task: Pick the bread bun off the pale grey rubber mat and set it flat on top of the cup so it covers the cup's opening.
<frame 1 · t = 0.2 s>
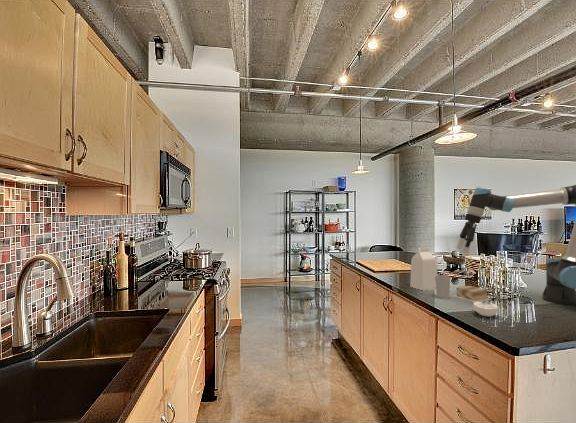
hand: (461, 250, 174), 27 cm above the countertop, tool tilted 15°, fingers open, 13 cm apart
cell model: (485, 315, 145), on the countertop
milk: (424, 288, 198), on the countertop
mat: (471, 298, 174), on the countertop
cup: (442, 298, 175), on the countertop
bread bun: (471, 297, 174), resting on mat
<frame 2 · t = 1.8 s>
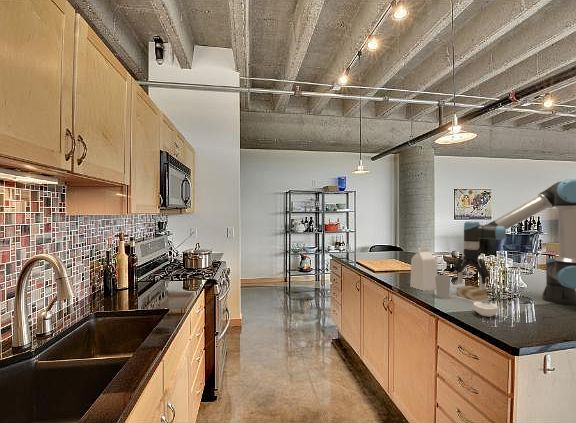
hand: (470, 286, 174), 7 cm above the countertop, tool pointing down, fingers open, 13 cm apart
nothing on the countertop moved.
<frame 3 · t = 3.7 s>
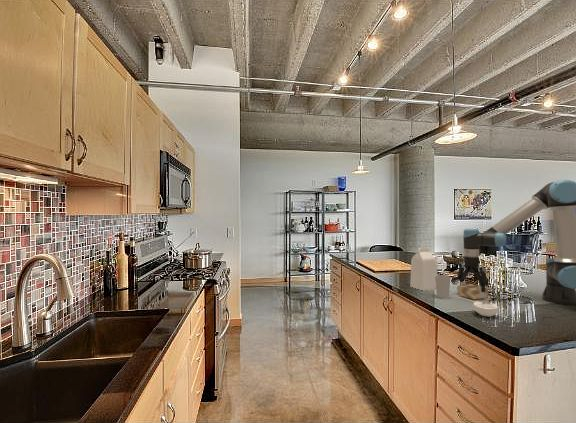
hand: (472, 295, 174), 2 cm above the countertop, tool pointing down, fingers closed on bread bun, 10 cm apart
bread bun: (472, 295, 174), point 1 cm above the countertop, touching gripper
everything else where it was.
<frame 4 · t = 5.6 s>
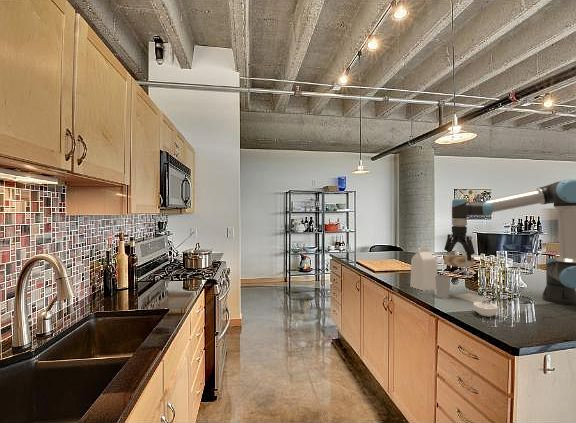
hand: (458, 264, 175), 19 cm above the countertop, tool pointing down, fingers closed on bread bun, 10 cm apart
bread bun: (458, 265, 175), point 19 cm above the countertop, touching gripper
everything else where it was.
when the fingers open (13 cm above the countertop, at t = 7.7 s): bread bun drops 1 cm, resting on cup.
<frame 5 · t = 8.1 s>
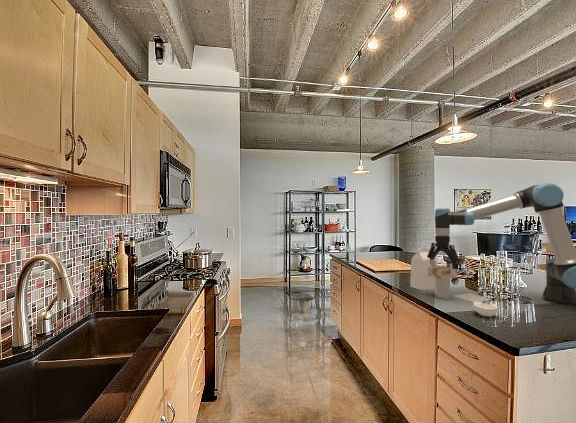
hand: (442, 272, 175), 14 cm above the countertop, tool pointing down, fingers open, 13 cm apart
cup: (442, 298, 175), on the countertop, touching bread bun
bread bun: (442, 276, 175), point 12 cm above the countertop, touching cup
everything else where it was.
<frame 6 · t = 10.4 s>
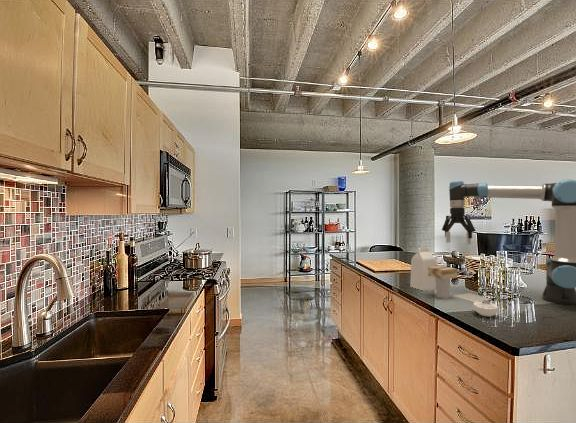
hand: (458, 243, 182), 30 cm above the countertop, tool pointing down, fingers open, 13 cm apart
nothing on the countertop moved.
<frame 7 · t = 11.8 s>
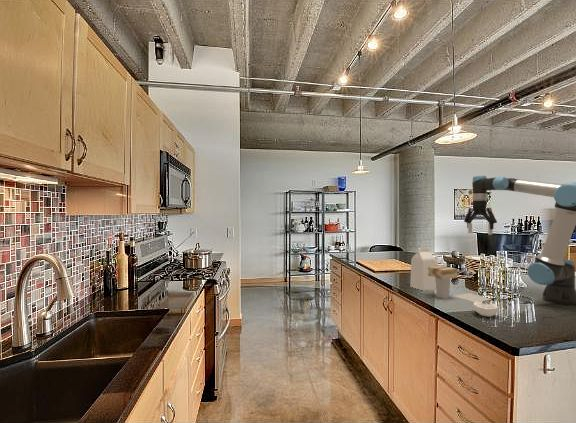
hand: (479, 233, 195), 35 cm above the countertop, tool pointing down, fingers open, 13 cm apart
nothing on the countertop moved.
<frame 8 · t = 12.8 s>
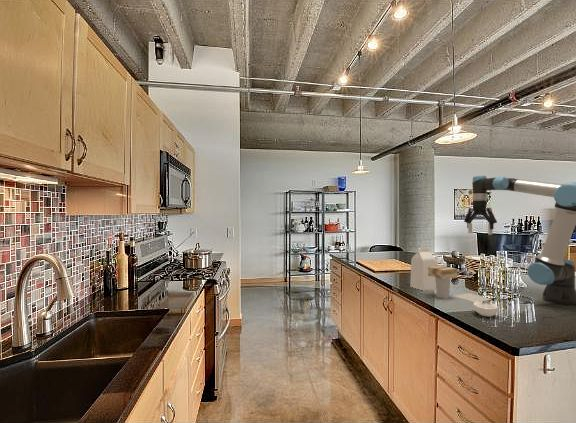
hand: (479, 233, 195), 35 cm above the countertop, tool pointing down, fingers open, 13 cm apart
nothing on the countertop moved.
at the end: bread bun 0.1 cm from the cup (horizontally); bread bun point 12.0 cm above the countertop; cup tilted 0° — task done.
